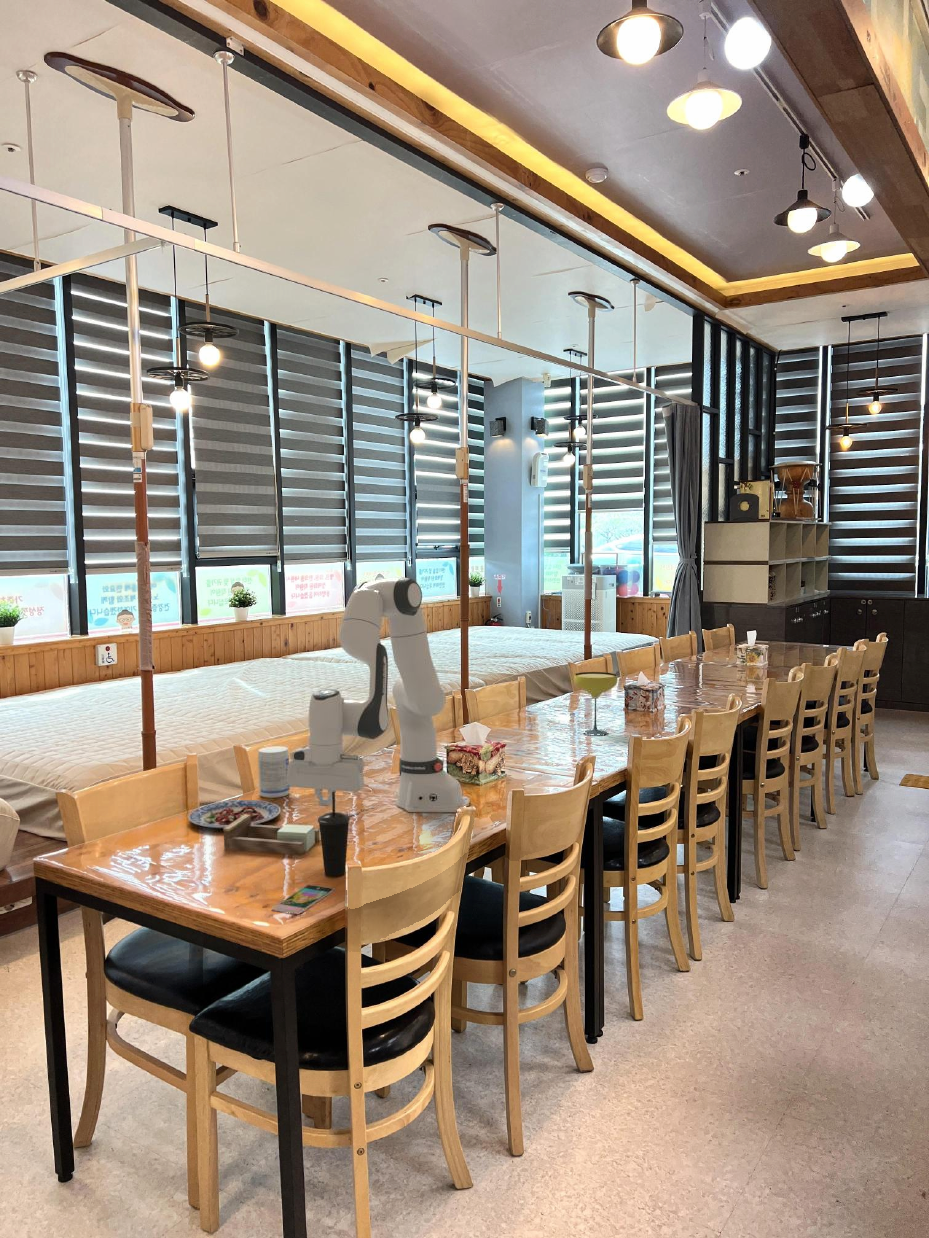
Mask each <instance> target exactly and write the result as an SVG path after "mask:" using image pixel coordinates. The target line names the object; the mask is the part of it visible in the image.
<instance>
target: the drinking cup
mask: <svg viewBox="0 0 929 1238" xmlns="http://www.w3.org/2000/svg"><path fill="white" fill-rule="evenodd" d="M331 807H332V810H331V812H328V813H325V814H323V815H321V816H318V818H317V823H318V825H319V837H320V843H321V851H322V861H323V869H324V876H325V877H328V878H339V877H343V876H344V875H345V874H346V867H347V866H346V864H347V849H348V838H349V824H350V823H349V822H350V821H351V817H350V816H349V815H348V814H346V813H345V814H344V813H343V812H337V811H336V793H335V792H332V805H331ZM345 866H346V867H345ZM344 873H345V874H344Z"/></svg>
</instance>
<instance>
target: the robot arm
mask: <svg viewBox="0 0 929 1238" xmlns="http://www.w3.org/2000/svg"><path fill="white" fill-rule="evenodd" d="M422 601H423V593H422V589H421V586H420V585H419V584H418V582H417V581H416V580H415V579H413V578H409V577H404V576H403V577H400V578H399V577H398V578H397V577H389V578H388V577H387V578H386V577H385V578H382V579H377V580H372V581H364V582H361V583H358V584H357V585H356V586H355V587H354V588H353V590H352V592H351V594H350V596H349V598H348V600H347V603H346V606H345V609H344V612H343V615H342V618H341V623H340V627H339V632H338V641H339V644H340V647H341V649H342V650H343V651H344V652H345V653H347V655H349V656H351V657H352V658H353V659H356V660H358V661H360V662H362V663H363V664H366V665H367V666H368V669H369V689H368V691H369V693H368V694H369V695H368V698H366V699H364V700H363V699H351V698H345V697H342V695H341V692H340V691H339V690H337V689H333V688H325V689H319V690H316V691H315V692H314V693H312V694H311V696H310V701H309V707H308V721H307V723H308V730H309V735H308V736H309V737H308V741H307V744H308V745H305V746H301V747H298V748H296V749H294V750H293V751H291V752H290V754H289V760H291V761H289V765H288V770H287V783H288V785H289V786H290V787H291V788H300V789H301V788H302V789H313V790H314V794H315V796H316V798H317V799H318V806H320V807H328V808H329V807H330V808H331V807H332V792H335V794H336V793H337V791H339V792H349V793H351V792H352V793H358V792H360V791H361V790H362V789H364V786H365V778H364V766H365V763H364V762H365V761H364V760H363V758H361V757H359V755H357V754H353V755H351V754H344V752H343V751H344V749H343V748H344V739H343V736H350V737H358V738H359V737H360V738H363V739H364V738H365V739H368V740H375V739H377V738H379V737H380V736H381V735H382V734H384V733H385V732H386V730H387V729H388V725H389V712H388V711H389V709H388V683H389V682H388V681H389V680H388V677H389V662H388V661H389V660H388V659H389V657H388V652H387V651H388V650H387V648H386V646H385V645H384V644H382V642H381V638H380V637H381V630H382V625H383V623H382V621H383V618H388V628H389V636H390V643H391V648H392V649H391V651H392V654H393V655H392V656H393V660H394V665H396V668H397V670H398V672H399V675H400V677H399V678H398V679H397V680H396V681H394V684H393V685H392V692H391V693H392V697H393V699H394V702H395V707H396V708H395V709H396V715H397V720H398V727H399V734H400V757H399V761H398V772H399V777H400V778H399V786H398V787H399V789H398V794H397V798H396V800H395V804H396V806H397V807H399V808H400V809H404V810H406V812H408V813H457V812H456V811H457V809H459V808H460V807H464V806H468V807H469V805H470V804H471V803H470V798H469V797H467V796H463V790H462V786H461V784H460V782H459V781H458V780H457V779H456V778H454V777H453V776H452V775H450V774H449V773H448V772H446V771H445V770H444V761H445V759H441V758H439V757H438V744H437V743H438V739H437V738H438V737H437V736H438V734H437V729H436V727H435V725H434V721H433V717H435V716H437V715H439V714H440V713H441V712H442V711H443V710H444V708H445V706H446V703H447V696H446V694H445V693H446V692H445V691H444V690H443V688H442V686H441V684H440V680H439V676H438V674H437V671H436V669H435V665H434V662H433V659H432V656H431V650H430V644H429V638H428V633H427V626H426V622H425V617H424V613H423V611H422V608H421V604H422ZM324 790H326V791H327V794H329V795H328V796H327V797H324V794H323V793H322V792H323V791H324ZM469 803H470V804H469Z"/></svg>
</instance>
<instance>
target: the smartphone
mask: <svg viewBox="0 0 929 1238" xmlns="http://www.w3.org/2000/svg"><path fill="white" fill-rule="evenodd" d="M333 890H334V891H335V888H333V887H328V886H320V885H314V884H307V885H305V886H304V887H302V888H300V889H299V890H297V891H296V892H295V893H293V894H291V895H290V896H288V897H287V898H285V899H284V900H282V901H281V902H279V903H277V904H276V905H275V906H273V907H271V911H272V910H274V911H273V912H277V911H280V912H279V913H283V912H288V913H289V912H290V913H295V914H300V913H301V912H303V911H304V910H305V909H307V908H309V907H310V906H312V905H313V904H315V903H316V902H317V903H318V901H319V902H320V901H321V900H322V899H324V898H326V897H327V896H328V895H330V894H331V893H333V892H334V891H333ZM325 896H326V897H325ZM317 903H316V904H317ZM316 904H315V905H316ZM313 906H314V905H313ZM313 906H312V907H313ZM310 908H311V907H310ZM310 908H309V909H310ZM303 909H304V910H303ZM288 913H287V914H288ZM303 913H304V912H303ZM300 915H301V914H300Z"/></svg>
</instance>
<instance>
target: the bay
mask: <svg viewBox="0 0 929 1238" xmlns="http://www.w3.org/2000/svg"><path fill="white" fill-rule="evenodd" d="M283 826H284V825H282V826H281V825H280V826H279V825H268V824H267V825H265V824H264V825H263V824H251V815H247V814H245V815H244V816H242V817H241V818H239V819H237V820H236V821H234V822H233V823H231V824H230V825H228V826H226V827H225V828H222V829H223V847H224V848H223V849H224V850H228V851H240V852H241V851H242V852H252V853H253V852H255V853H265V854H266V853H267V854H278V855H279V854H280V855H289V856H290V855H292V856H293V855H294V856H302V855H304V852H305V851H304V843H303V842H297V841H284V840H277V831H279V830H280V829H281V828H282V827H283ZM319 841H321V838H320V828H315V843H318V842H319Z"/></svg>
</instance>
